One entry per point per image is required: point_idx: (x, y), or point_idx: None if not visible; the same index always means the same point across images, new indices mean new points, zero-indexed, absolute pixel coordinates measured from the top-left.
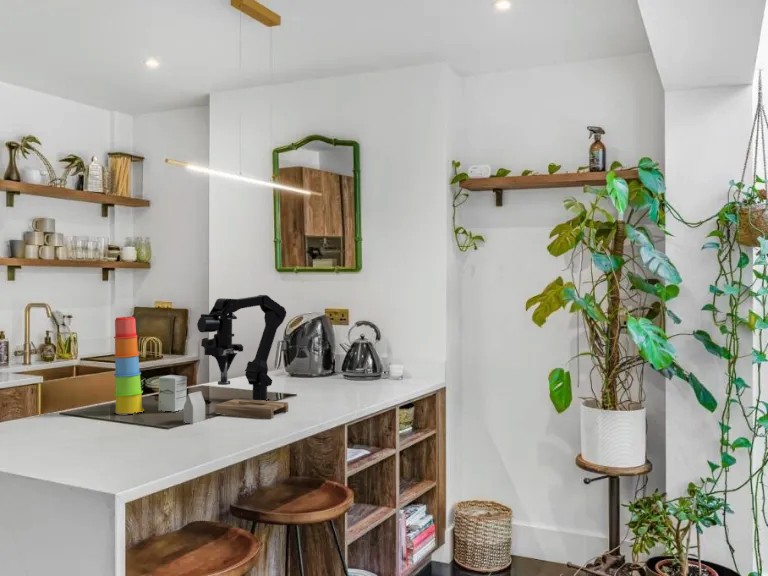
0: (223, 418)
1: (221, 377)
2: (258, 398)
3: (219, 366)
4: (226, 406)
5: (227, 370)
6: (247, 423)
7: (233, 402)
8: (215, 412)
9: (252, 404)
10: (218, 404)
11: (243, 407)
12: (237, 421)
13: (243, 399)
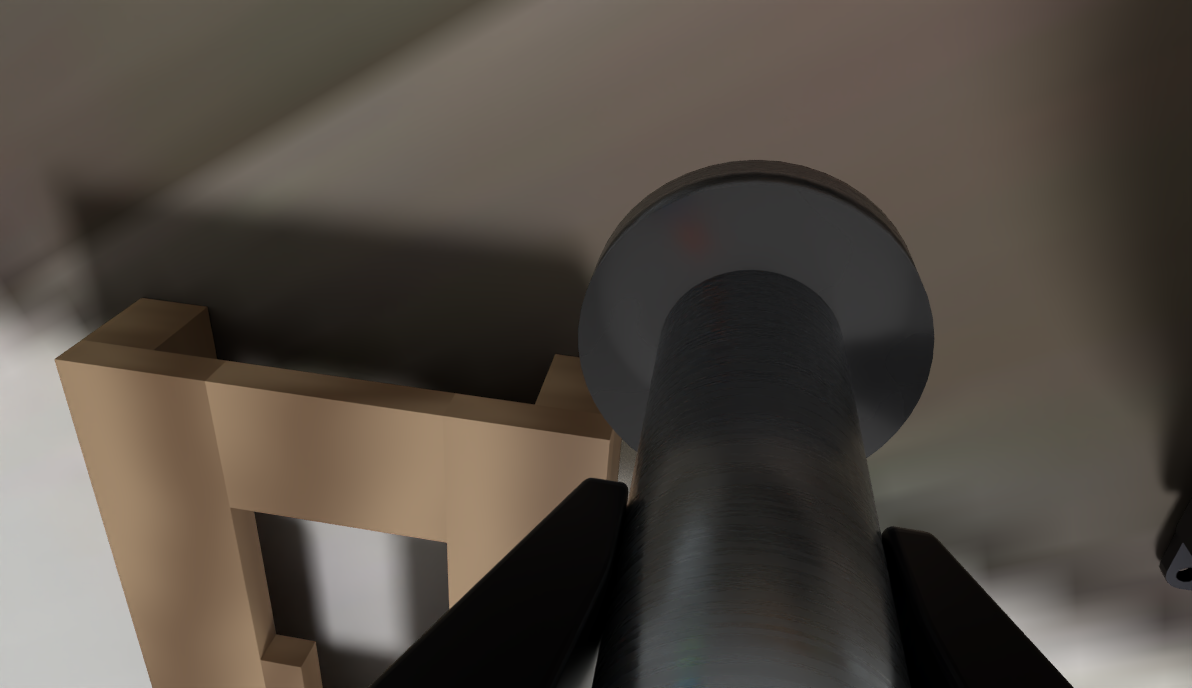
0: (52, 445)
1: (657, 375)
2: (1188, 549)
3: (437, 643)
4: (101, 496)
5: None
6: (20, 667)
7: (329, 507)
8: (124, 315)
9: None
10: (111, 383)
11: (148, 662)
12: (29, 588)
13: None
